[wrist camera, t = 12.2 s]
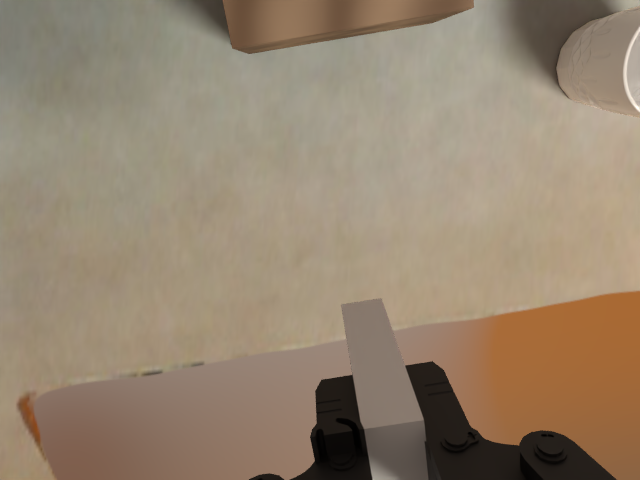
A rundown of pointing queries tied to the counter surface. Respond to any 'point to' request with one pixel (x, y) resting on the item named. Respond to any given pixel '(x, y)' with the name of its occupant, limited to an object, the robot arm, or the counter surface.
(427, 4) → the platform
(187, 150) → the counter surface
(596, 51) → the white cup
